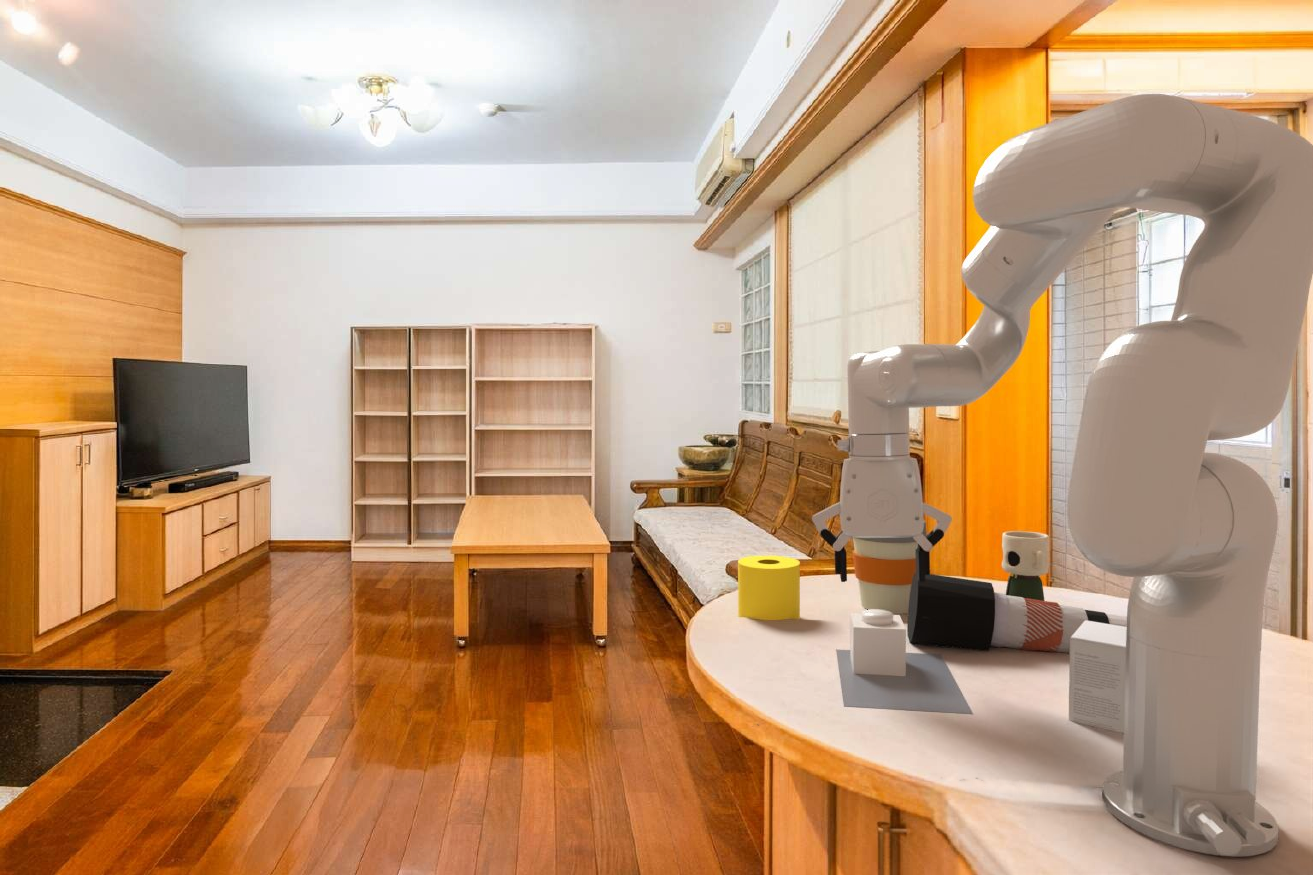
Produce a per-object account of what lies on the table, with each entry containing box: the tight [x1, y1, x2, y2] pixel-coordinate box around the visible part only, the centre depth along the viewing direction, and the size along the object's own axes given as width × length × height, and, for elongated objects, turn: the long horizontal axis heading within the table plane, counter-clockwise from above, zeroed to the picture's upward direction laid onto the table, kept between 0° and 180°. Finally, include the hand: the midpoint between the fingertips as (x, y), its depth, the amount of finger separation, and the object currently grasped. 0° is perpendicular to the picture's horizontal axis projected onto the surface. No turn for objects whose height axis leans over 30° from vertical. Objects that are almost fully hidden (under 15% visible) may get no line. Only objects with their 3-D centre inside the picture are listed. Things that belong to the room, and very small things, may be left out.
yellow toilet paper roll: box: [737, 555, 801, 621], centre depth 129 cm, size 10×10×9 cm
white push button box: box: [849, 609, 907, 676], centre depth 102 cm, size 6×6×7 cm
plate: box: [835, 649, 974, 715], centre depth 98 cm, size 20×14×1 cm
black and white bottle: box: [906, 572, 1127, 656], centre depth 110 cm, size 10×34×10 cm
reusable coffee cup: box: [852, 519, 928, 615], centre depth 135 cm, size 13×13×15 cm
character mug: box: [1001, 530, 1050, 601], centre depth 131 cm, size 11×7×13 cm, turn 1°
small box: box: [1068, 620, 1127, 734], centre depth 86 cm, size 8×6×10 cm
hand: (881, 580), depth 101 cm, fingers open, 9 cm apart
